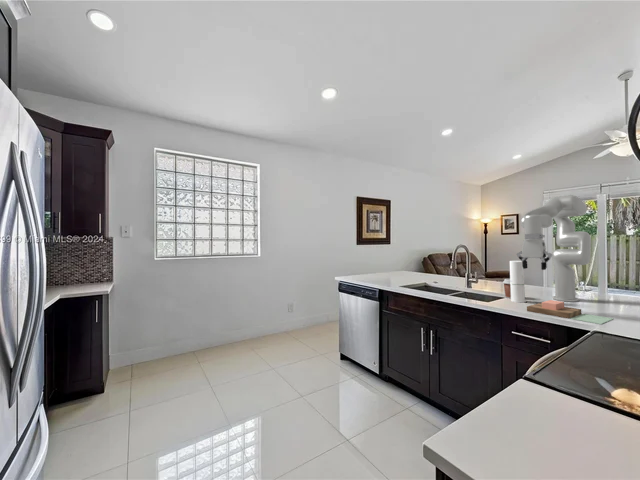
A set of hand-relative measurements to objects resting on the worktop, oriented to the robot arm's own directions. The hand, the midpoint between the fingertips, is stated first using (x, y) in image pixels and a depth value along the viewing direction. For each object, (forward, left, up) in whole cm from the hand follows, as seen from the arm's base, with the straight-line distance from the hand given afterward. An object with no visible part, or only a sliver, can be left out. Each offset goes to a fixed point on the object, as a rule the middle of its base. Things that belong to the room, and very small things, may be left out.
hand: (534, 268), depth 154 cm
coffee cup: (-22, -24, -23) cm, 40 cm away
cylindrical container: (-14, -16, -23) cm, 31 cm away
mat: (-1, +23, -22) cm, 32 cm away
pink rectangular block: (0, +8, -18) cm, 20 cm away
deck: (0, +8, -22) cm, 24 cm away
